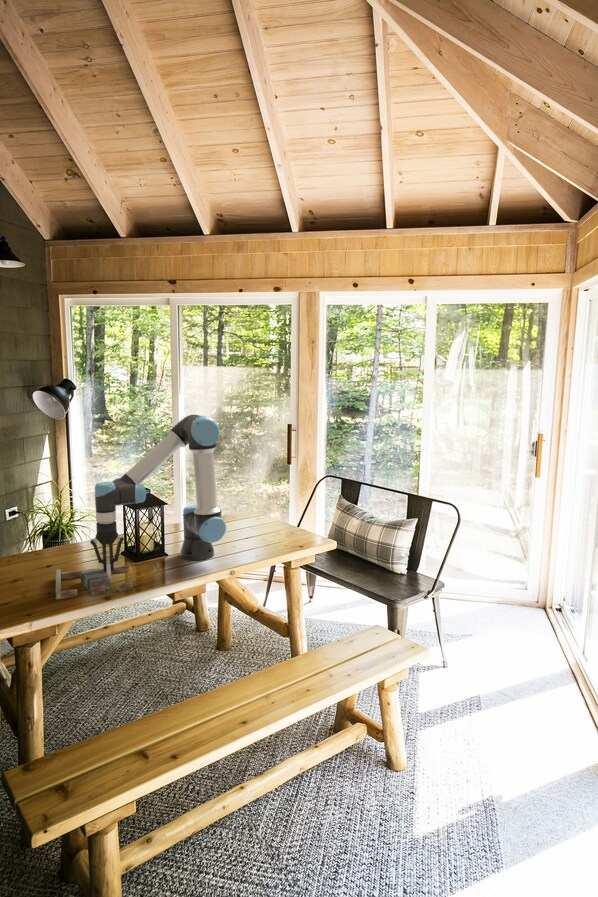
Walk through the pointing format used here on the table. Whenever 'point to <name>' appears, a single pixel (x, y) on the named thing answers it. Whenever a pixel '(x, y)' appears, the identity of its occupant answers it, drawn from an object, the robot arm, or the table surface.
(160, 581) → the table surface
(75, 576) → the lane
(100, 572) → the stone block
